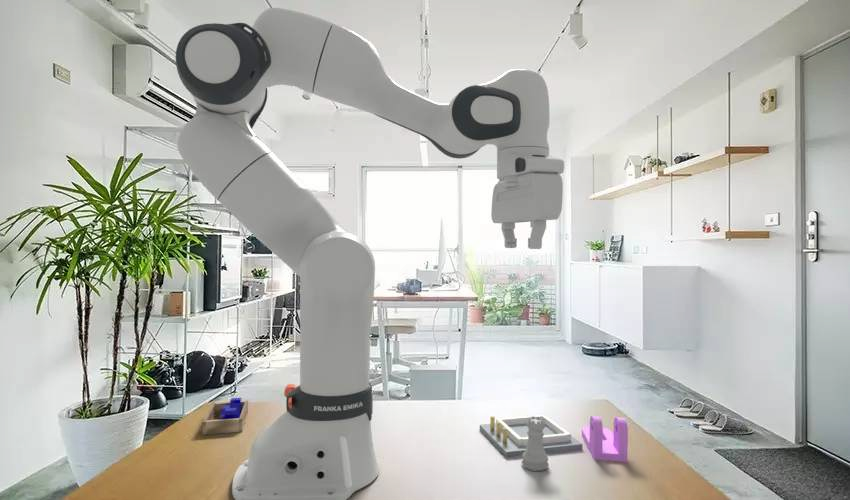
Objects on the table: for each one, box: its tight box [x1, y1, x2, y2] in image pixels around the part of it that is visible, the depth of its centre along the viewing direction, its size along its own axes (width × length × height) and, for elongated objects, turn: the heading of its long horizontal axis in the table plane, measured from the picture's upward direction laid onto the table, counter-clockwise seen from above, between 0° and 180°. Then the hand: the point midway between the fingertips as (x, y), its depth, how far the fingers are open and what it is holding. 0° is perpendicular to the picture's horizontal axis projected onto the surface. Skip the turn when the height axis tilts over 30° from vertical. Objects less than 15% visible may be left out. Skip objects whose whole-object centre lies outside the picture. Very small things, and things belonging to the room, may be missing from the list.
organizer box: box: [201, 400, 249, 436], centre depth 100 cm, size 7×11×2 cm, turn 14°
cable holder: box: [219, 397, 242, 420], centre depth 100 cm, size 8×4×4 cm, turn 13°
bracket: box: [581, 416, 629, 463], centre depth 91 cm, size 13×6×7 cm, turn 173°
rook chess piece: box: [521, 415, 550, 472], centre depth 82 cm, size 4×4×8 cm
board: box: [479, 414, 583, 459], centre depth 93 cm, size 15×13×4 cm
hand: (522, 248), depth 84 cm, fingers open, 8 cm apart
